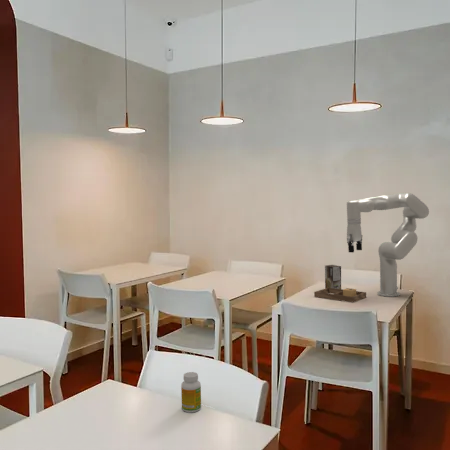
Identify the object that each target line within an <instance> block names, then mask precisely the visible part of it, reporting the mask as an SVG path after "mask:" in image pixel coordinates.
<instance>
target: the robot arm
mask: <svg viewBox="0 0 450 450" xmlns="http://www.w3.org/2000/svg"><path fill="white" fill-rule="evenodd" d="M398 208H403V209H402V216H403V222H402V223H401V224H400V226H399V227H397V229H396V230H395V231H394V232H393V233H392V234H391V238H390V241H391V242H389V241H385V242H383V243H381V244H380V245H379V247H378V256H379V278H380V279H379V290H378V291H377V295H378V296H381V297H389V298H390V297H393V298H394V297H398V296H400V292H399V291H398V289H399V287H398V264H397V261H399V260H403V259H405V258H406V256H407V255H408V254H409V253H410V252H412V250H413V248H415V246H416V245H417V243H418V235H417V233H416V232H415V231H416V230H417V220H416V219H418V220H419V219H420V220H421V219H423V220H424V219H425V218H427V217H428V216H429V213H430V209H429V207H428V206H427V204H425V203H424V202H423V201H422V200H421V199H420V198H419V197H418V196H416V195H415V194H413V193H410V192H405V193H404V192H403V193H393V194H386V195H379V196H375V197H366V198H360V199H355V200H347V202H346V218H347V219H346V220H347V221H346V222H347V224H346V225H347V227H346V243H347V246H348V248H347V251H348V253H355V250H356V251H362V250H363V246H362V244H363V234H362V227H361V225H362V218H361V217H362V213H371V212H372V211H386V210H392V209H398ZM355 242H356V243H355ZM354 244H355V245H354ZM355 246H356V247H355ZM355 248H356V249H355Z"/></svg>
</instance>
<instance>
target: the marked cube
mask: <svg viewBox="0 0 450 450" xmlns="http://www.w3.org/2000/svg"><path fill="white" fill-rule="evenodd" d="M356 291H357V289H356V288H350V287H348V288H347V287H346V288H344V289H343V295H344V296H351V297H353V296H356Z"/></svg>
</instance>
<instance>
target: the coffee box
mask: <svg viewBox="0 0 450 450" xmlns="http://www.w3.org/2000/svg"><path fill="white" fill-rule="evenodd" d="M324 284H325V285H324V286H325V287H324V289H326V288H335V289H342V265H341V266H340V265H336V264H328V265H324Z"/></svg>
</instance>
